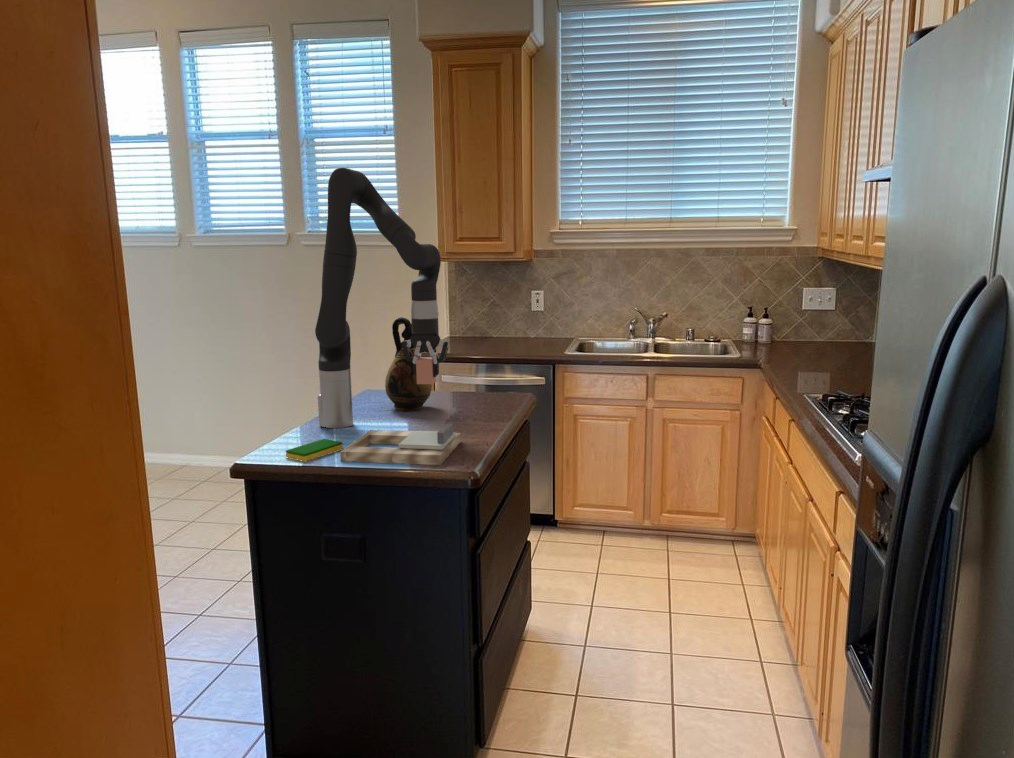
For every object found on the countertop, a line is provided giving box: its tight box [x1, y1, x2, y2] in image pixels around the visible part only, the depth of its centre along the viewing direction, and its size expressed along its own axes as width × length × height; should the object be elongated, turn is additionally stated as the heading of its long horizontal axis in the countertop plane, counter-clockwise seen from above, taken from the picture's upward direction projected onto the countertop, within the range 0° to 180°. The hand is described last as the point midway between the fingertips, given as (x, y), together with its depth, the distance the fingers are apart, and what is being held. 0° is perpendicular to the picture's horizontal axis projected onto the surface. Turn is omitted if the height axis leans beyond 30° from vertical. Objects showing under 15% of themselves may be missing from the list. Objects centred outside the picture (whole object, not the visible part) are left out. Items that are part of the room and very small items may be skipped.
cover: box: [398, 422, 457, 450], centre depth 195 cm, size 12×14×4 cm
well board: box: [339, 429, 462, 466], centre depth 197 cm, size 26×22×2 cm
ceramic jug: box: [384, 317, 433, 412], centre depth 246 cm, size 17×15×30 cm
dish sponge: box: [285, 438, 344, 462], centre depth 196 cm, size 7×14×2 cm, turn 149°
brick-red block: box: [416, 356, 437, 385], centre depth 212 cm, size 4×4×7 cm
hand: (426, 376), depth 213 cm, fingers closed on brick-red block, 4 cm apart
